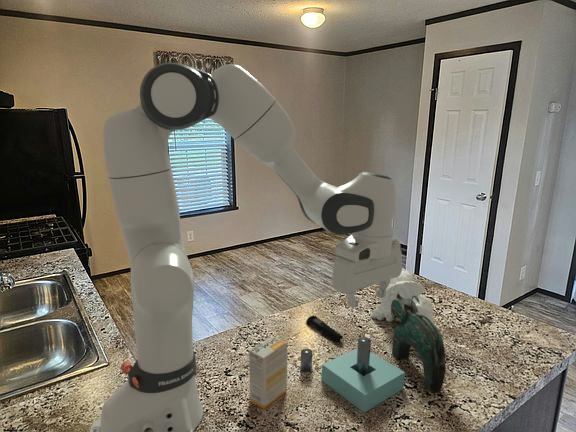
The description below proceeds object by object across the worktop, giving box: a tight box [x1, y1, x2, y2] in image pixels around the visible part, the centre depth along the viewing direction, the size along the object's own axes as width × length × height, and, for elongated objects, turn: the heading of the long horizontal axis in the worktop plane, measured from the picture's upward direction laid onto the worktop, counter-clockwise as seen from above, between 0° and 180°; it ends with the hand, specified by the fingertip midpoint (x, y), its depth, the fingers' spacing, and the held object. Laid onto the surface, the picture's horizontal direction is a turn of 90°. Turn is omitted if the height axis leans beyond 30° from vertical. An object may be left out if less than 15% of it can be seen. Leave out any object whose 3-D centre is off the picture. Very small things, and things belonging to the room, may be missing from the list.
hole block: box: [321, 347, 406, 413], centre depth 95 cm, size 14×14×4 cm
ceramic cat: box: [391, 294, 447, 393], centre depth 100 cm, size 20×6×20 cm, turn 15°
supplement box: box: [248, 335, 288, 410], centre depth 90 cm, size 8×5×13 cm, turn 141°
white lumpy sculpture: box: [370, 267, 435, 325], centre depth 128 cm, size 19×20×20 cm
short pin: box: [300, 347, 313, 373], centre depth 101 cm, size 3×3×5 cm
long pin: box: [356, 336, 372, 376], centre depth 94 cm, size 3×3×12 cm
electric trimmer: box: [305, 315, 344, 342], centre depth 120 cm, size 4×16×3 cm, turn 32°
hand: (367, 301), depth 91 cm, fingers open, 8 cm apart
